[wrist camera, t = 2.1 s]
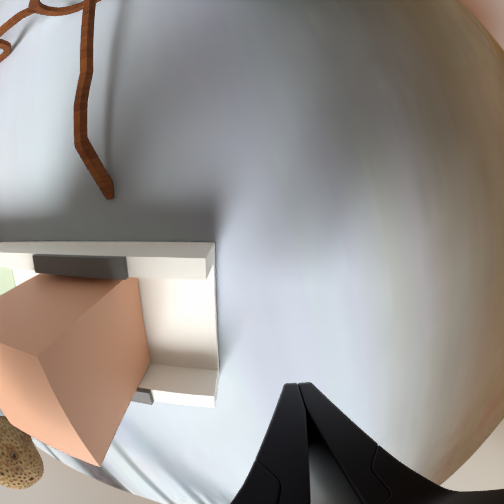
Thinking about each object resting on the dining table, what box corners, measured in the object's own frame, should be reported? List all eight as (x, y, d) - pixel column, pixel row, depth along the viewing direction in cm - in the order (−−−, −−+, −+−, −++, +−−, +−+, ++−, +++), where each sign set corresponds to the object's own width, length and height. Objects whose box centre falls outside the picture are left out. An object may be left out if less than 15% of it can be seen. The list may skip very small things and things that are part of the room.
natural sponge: (39, 418, 16) (-2, 482, 6) (66, 461, 18) (39, 516, 8) (-11, 385, 15) (-52, 432, 6) (16, 431, 18) (-14, 476, 8)
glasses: (125, -9, 8) (92, -52, 3) (119, 197, 11) (52, 209, 7) (-10, 71, 8) (-50, 62, 4) (-16, 231, 12) (-64, 248, 7)
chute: (214, 242, 12) (204, 260, 9) (219, 375, 13) (214, 411, 11) (-21, 242, 11) (-46, 251, 9) (1, 331, 13) (-19, 347, 10)
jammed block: (136, 268, 11) (37, 357, 4) (151, 360, 12) (100, 467, 6) (56, 265, 11) (-41, 321, 4) (75, 347, 12) (10, 423, 6)
